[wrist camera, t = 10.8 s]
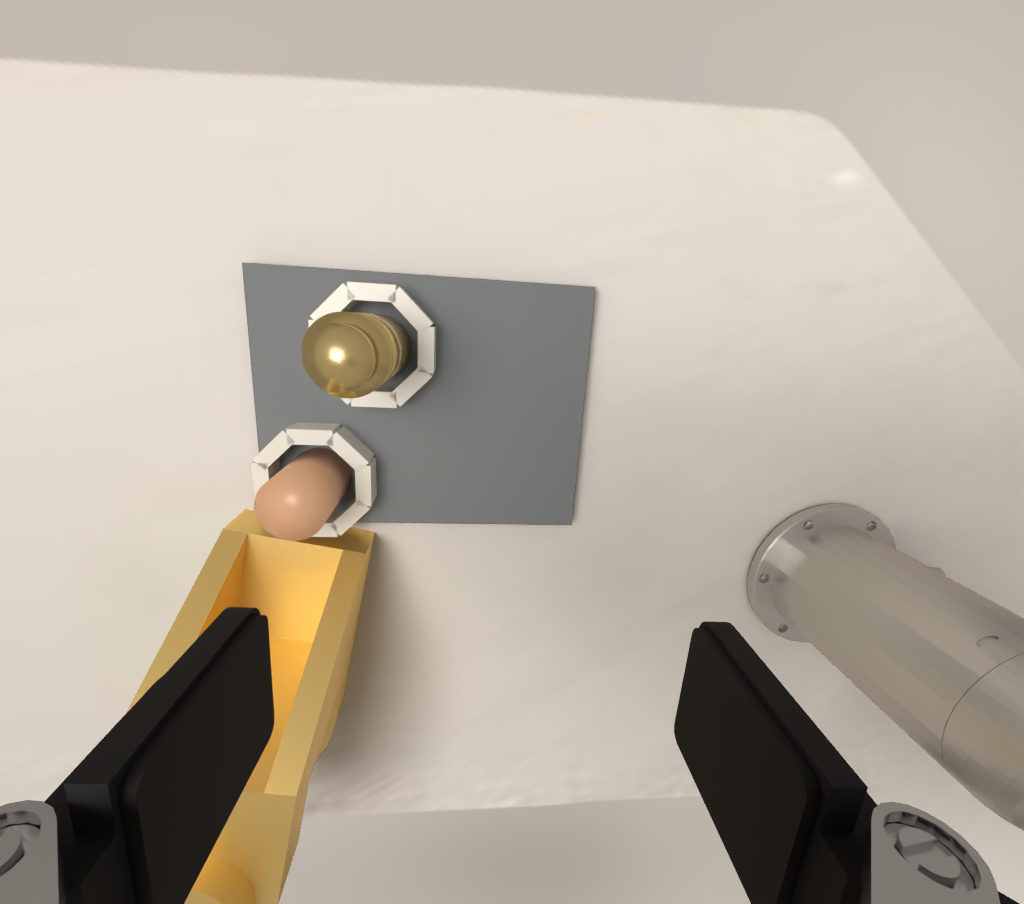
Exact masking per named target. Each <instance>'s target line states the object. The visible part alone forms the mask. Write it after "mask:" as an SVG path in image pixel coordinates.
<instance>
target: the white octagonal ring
mask: <svg viewBox="0 0 1024 904" xmlns="http://www.w3.org/2000/svg"><path fill="white" fill-rule="evenodd" d="M359 301H369V302H384V303H392V304H393V305H394V306H395V307H396V308H397V309H398V310H399V311H400V312H401V314H402V315H403V316H404V317H405V318H406V319H407V320H408V321H409V322H410V323H411V324H412V325H413V326H414V328H415V329H416V330H417V331H418V368H417V369H416V370H415V371H414V372H412V373H411V374H410V375H409V376H408V377H407V378H406V379H405V380H404V381H403V382H402V383H401V384H400V385H399V386H398V387H397V388H391V387H378V388H377V389H376V390H374V391H373V392H371V393H370V394H368V395H365V396H362V397H359V398H351V399H347V398H341V399H342V400H343V401H344V402H345V403H346V404H347V405H348V404H349V403H350V402H351V406H355V407H380V408H397V407H398V406H400V407H401V406H402V405H403V404H404V403H405V402H406V401H407V400H408V399H409V398H410V397H411V396H412V395H413V394H415V393H416V392H417V391H418V390H419V389H420V388H421V387H422V386H423V385H424V384H425V383H426V382H427V381H428V380H429V379H431V378H432V376H433V375H434V372H435V370H436V327H434V326H432V325H433V324H434V321H433V320H432V319H431V318H430V317H429V316H428V315H427V314H426V313H425V312H424V310H423V309H422V308H421V307H420V306H419V305H418V304H417V303H416V302H415V301H414V299H413V298H412V297H411V296H410V295H409V294H408V293H407V292H406V291H405V290H404V289H403V288H401V287H399V286H397V285H390V284H375V283H360V282H347V284H345V283H342V284H341V285H340V286H339V287H338V288H337V289H336V290H335V291H334V292H333V293H332V294H331V295H330V296H329V297H328V298H327V299H326V300H325V301H324V302H323V303H322V304H321V305H320V306H319V307H318V308H317V309H316V310H315V311H314V312H313V313H312V314H311V315H310V317H311V318H312V319H313V320H308V324H309V327H310V326H311V325H312V324H313V323H314V322H315V321H316V320H317V319H319V318H320V317H322V316H324V315H326V314H329V313H333V312H349V311H350V310H351V309H352V308H353V307H354V306H355V305H356V304H357V303H358V302H359Z"/></svg>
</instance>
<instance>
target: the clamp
mask: <svg viewBox="0 0 1024 904" xmlns="http://www.w3.org/2000/svg"><path fill="white" fill-rule="evenodd" d="M374 534H375V532H370V531H365V530H359V529H353V528H349V529H348V530H347V531H345V532H344V533H343V534H342V535H341V536H340V535H338V537H309V538H307V539H304V540H298V541H289V540H284V539H280V538H278V537H275V536H273V535H272V534H270V533H269V532H267V531H266V530H265V529H264V528H263V527H262V526H261V524H260V523H259V521H258V519H257V517H256V514H255V511H253V510H247V509H245V510H244V511H243V512H242V513H241V514H240V515H239V516H237V517H236V518H235V519H234V520H233V521H232V522H231V523H229V524H228V525H227V526H226V527H225V528H224V529H223V530H222V532H221V534H220V536H219V538H218V540H217V542H216V543H215V545H214V547H213V549H212V551H211V553H210V555H209V557H208V559H207V561H206V562H205V564H204V566H203V568H202V570H201V572H200V574H199V576H198V578H197V580H196V581H195V583H194V585H193V587H192V589H191V591H190V593H189V595H188V597H187V599H186V601H185V602H184V604H183V606H182V608H181V610H180V612H179V614H178V616H177V618H176V620H175V621H174V623H173V625H172V627H171V629H170V631H169V633H168V635H167V637H166V639H165V640H164V642H163V644H162V646H161V648H160V650H159V652H158V654H157V656H156V658H155V659H154V661H153V663H152V665H151V667H150V669H149V671H148V673H147V675H146V677H145V678H144V680H143V682H142V684H141V686H140V688H139V690H138V692H137V694H136V696H135V698H134V699H133V701H132V703H131V705H130V707H129V709H128V711H129V710H130V709H131V708H132V707H133V706H134V705H135V704H136V703H137V701H138V700H139V699H140V698H141V697H142V696H143V695H144V694H145V693H146V692H147V691H148V690H149V688H150V687H151V686H152V685H153V684H154V683H155V682H156V681H157V680H158V679H160V678H161V677H162V676H163V675H164V674H165V673H166V672H167V671H168V670H169V669H170V668H171V667H172V666H173V665H174V664H175V662H176V661H177V660H178V659H179V658H180V657H181V656H182V655H183V654H184V653H185V652H186V650H187V649H188V648H189V647H190V646H191V645H192V644H193V643H194V642H195V641H196V640H197V639H198V637H199V636H200V635H201V634H202V633H203V632H204V631H205V630H206V629H207V628H208V627H209V626H210V624H211V623H212V622H213V621H214V620H215V619H216V618H217V617H218V616H219V615H220V614H221V612H222V611H223V610H225V609H226V608H227V607H249V608H257V609H259V611H260V615H265V616H267V618H268V626H269V641H270V657H271V672H272V687H273V702H274V727H273V732H272V735H271V737H270V740H269V742H268V744H267V745H266V747H265V749H264V751H263V753H262V755H261V757H260V759H259V761H258V763H257V765H256V767H255V768H254V770H253V772H252V774H251V776H250V778H249V780H248V782H247V784H246V786H245V788H244V790H243V792H242V793H241V795H240V797H239V799H238V801H237V803H236V805H235V807H234V809H233V811H232V813H231V815H230V816H229V818H228V820H227V822H226V824H225V826H224V828H223V830H222V832H221V834H220V836H219V838H218V840H217V841H216V843H215V845H214V847H213V849H212V851H211V853H210V855H209V857H208V859H207V861H206V863H205V865H204V866H203V868H202V870H201V872H200V874H199V876H198V878H197V880H196V882H195V884H194V886H193V888H192V889H191V891H190V893H189V895H188V897H187V899H186V901H185V903H184V904H278V903H279V900H280V897H281V894H282V890H283V887H284V884H285V881H286V878H287V875H288V871H289V868H290V865H291V862H292V859H293V856H294V853H295V850H296V846H297V843H298V839H299V834H300V828H301V822H302V817H303V811H304V806H305V800H306V795H307V789H308V783H309V779H310V776H311V773H312V770H313V767H314V764H315V761H316V758H317V757H318V756H319V755H320V754H321V753H322V752H323V751H324V750H325V748H326V747H327V745H328V743H329V741H330V739H331V736H332V733H333V730H334V727H335V724H336V721H337V717H338V714H339V711H340V708H341V705H342V702H343V697H344V692H345V687H346V682H347V676H348V671H349V666H350V661H351V655H352V650H353V645H354V640H355V634H356V629H357V624H358V619H359V613H360V608H361V603H362V597H363V592H364V587H365V582H366V576H367V571H368V566H369V561H370V555H371V550H372V545H373V540H374ZM128 711H127V712H128Z"/></svg>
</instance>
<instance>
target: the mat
mask: <svg viewBox="0 0 1024 904" xmlns="http://www.w3.org/2000/svg"><path fill="white" fill-rule="evenodd" d="M242 268H243V279H244V290H245V301H246V313H247V324H248V335H249V346H250V357H251V369H252V380H253V391H254V402H255V413H256V424H257V436H258V447H259V453H260V452H261V451H262V450H263V449H264V448H265V447H266V446H267V445H268V444H269V443H270V442H271V441H272V440H273V439H274V438H275V437H276V436H277V435H278V434H279V433H280V432H281V431H282V430H284V429H285V428H287V427H289V426H290V425H292V424H295V423H297V422H306V423H335V424H340V426H341V427H342V426H345V427H346V428H347V429H348V430H350V431H351V432H352V433H353V434H354V435H355V436H356V437H357V438H358V439H359V440H360V441H361V442H362V443H363V444H364V445H365V446H366V447H367V448H369V449H370V450H371V451H372V452H373V453H374V456H373V457H376V483H377V496H376V498H375V500H374V502H373V504H372V506H371V508H370V510H369V511H367V512H366V513H365V514H364V515H363V516H362V517H361V518H360V519H359V520H358V521H356V522H379V523H454V524H528V525H572V516H573V506H574V496H575V486H576V476H577V466H578V456H579V446H580V436H581V426H582V416H583V406H584V397H585V387H586V377H587V367H588V357H589V347H590V337H591V327H592V317H593V307H594V297H595V287H586V286H572V285H558V284H543V283H529V282H515V281H500V280H486V279H472V278H457V277H443V276H429V275H414V274H400V273H386V272H371V271H357V270H342V269H328V268H314V267H299V266H285V265H271V264H256V263H242ZM347 282H360V283H375V284H390V285H397V286H399V287H401V288H403V289H404V290H405V291H406V292H407V293H408V294H409V295H410V296H411V297H412V298H413V299H414V301H415V302H416V303H417V304H418V305H419V306H420V307H421V308H422V309H423V310H424V312H425V313H426V314H427V315H428V316H429V317H430V318H431V319H432V320H433V321H434V324H433V325H432V326H434V327H436V370H435V372H434V375H433V376H432V378H431V379H429V380H428V381H427V382H426V383H425V384H424V385H423V386H422V387H421V388H420V389H419V390H418V391H417V392H416V393H415V394H413V395H412V396H411V397H410V398H409V399H408V400H407V401H406V402H405V403H404V404H403V405H402V406H401V407H400V406H398V407H397V408H380V407H355V406H351V402H350V403H349V404H348V405H347V404H346V403H345V402H344V401H343V400H342V399H341V398H340V397H336V396H333V395H330V394H328V393H326V392H325V391H323V390H322V389H320V388H319V387H318V386H317V385H316V384H315V383H314V382H313V381H312V380H311V378H310V377H309V375H308V374H307V372H306V370H305V368H304V365H303V361H302V342H303V339H304V336H305V334H306V332H307V330H308V329H309V324H308V320H313V319H312V318H311V317H310V315H311V314H312V313H313V312H314V311H315V310H316V309H317V308H318V307H319V306H320V305H321V304H322V303H323V302H324V301H325V300H326V299H327V298H328V297H329V296H330V295H331V294H332V293H333V292H334V291H335V290H336V289H337V288H338V287H339V286H340V285H341V284H342V283H345V284H347ZM349 312H357V313H370V314H382V315H386V316H389V317H392V318H393V319H395V320H397V321H398V322H399V323H400V324H401V325H402V326H403V327H404V328H405V330H406V332H407V334H408V336H409V339H410V343H411V352H410V357H409V359H408V361H407V363H406V365H405V366H404V367H403V368H402V369H401V370H400V371H399V372H398V373H396V374H395V375H394V376H392V377H391V378H390V379H389V380H387V381H386V382H385V383H383V384H382V385H381V386H379V387H391V388H397V387H398V386H399V385H400V384H401V383H402V382H403V381H404V380H405V379H406V378H407V377H408V376H409V375H410V374H411V373H412V372H414V371H415V370H416V369H417V368H418V331H417V330H416V329H415V328H414V326H413V325H412V324H411V323H410V322H409V321H408V320H407V319H406V318H405V317H404V316H403V315H402V314H401V312H400V311H399V310H398V309H397V308H396V307H395V306H394V305H393V304H392V303H384V302H369V301H359V302H358V303H357V304H356V305H355V306H354V307H353V308H352V309H351V310H350V311H349ZM316 447H322V448H328V449H331V450H333V449H332V448H331V447H330V446H326V445H293V446H292V447H291V448H290V449H289V450H288V451H287V452H286V453H285V454H284V455H283V456H282V457H281V458H280V470H282V469H283V468H284V467H285V466H286V465H288V464H289V463H290V462H291V461H292V460H294V459H295V458H296V457H297V456H298V455H300V454H301V453H302V452H304V451H306V450H308V449H311V448H316ZM333 451H334V450H333ZM348 465H349V464H348ZM349 467H350V470H351V483H350V486H349V488H348V490H347V491H346V493H345V494H344V496H343V497H342V499H341V500H340V502H339V503H338V505H337V506H336V508H335V509H334V511H333V512H340V511H341V510H342V509H343V508H344V507H345V506H347V505H348V504H349V503H350V502H351V501H352V500H353V499H354V498H355V497H356V491H355V469H353V468H352V467H351V466H350V465H349Z"/></svg>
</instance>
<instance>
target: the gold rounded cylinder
mask: <svg viewBox="0 0 1024 904" xmlns="http://www.w3.org/2000/svg"><path fill="white" fill-rule="evenodd" d="M410 352H411V343H410V339H409V336H408V334H407V332H406V330H405V328H404V327H403V326H402V325H401V324H400V323H399V322H398V321H397V320H395V319H393V318H392V317H389V316H386V315H382V314H370V313H357V312H333V313H329V314H326V315H324V316H322V317H320V318H319V319H317V320H316V321H315V322H314V323H313V324H312V325H311V326H310V327H309V329H308V330H307V332H306V334H305V336H304V339H303V342H302V361H303V365H304V368H305V370H306V372H307V374H308V375H309V377H310V378H311V380H312V381H313V382H314V383H315V384H316V385H317V386H318V387H319V388H320V389H322V390H323V391H325V392H326V393H328V394H330V395H333V396H336V397H340V398H347V399H351V398H359V397H362V396H365V395H368V394H370V393H371V392H373V391H374V390H376V389H377V388H378V387H379V386H381V385H382V384H383V383H385V382H386V381H387V380H389V379H390V378H391V377H392V376H394V375H395V374H396V373H398V372H399V371H400V370H401V369H402V368H403V367H404V366H405V365H406V363H407V361H408V359H409V357H410Z"/></svg>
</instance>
